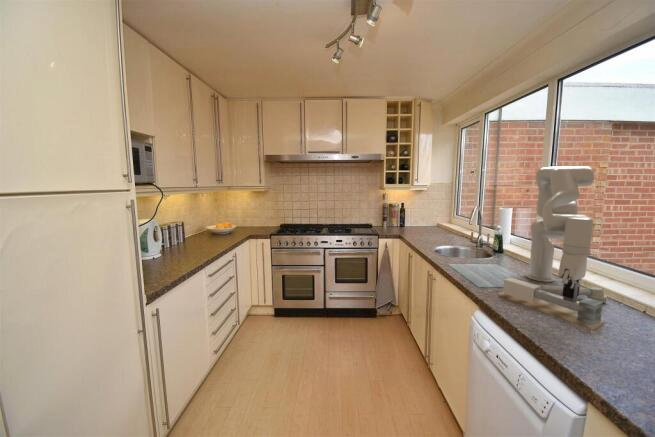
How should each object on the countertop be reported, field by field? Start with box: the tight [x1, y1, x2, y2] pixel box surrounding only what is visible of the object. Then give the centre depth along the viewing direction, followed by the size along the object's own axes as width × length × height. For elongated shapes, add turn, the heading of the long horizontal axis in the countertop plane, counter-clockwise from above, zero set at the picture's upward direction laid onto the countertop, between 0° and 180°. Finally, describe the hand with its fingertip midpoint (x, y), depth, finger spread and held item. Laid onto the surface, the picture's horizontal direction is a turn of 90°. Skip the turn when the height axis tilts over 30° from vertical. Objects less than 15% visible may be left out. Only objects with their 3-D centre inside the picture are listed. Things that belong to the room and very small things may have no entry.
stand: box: [497, 291, 605, 331], centre depth 110 cm, size 33×9×8 cm, turn 26°
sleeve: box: [502, 277, 541, 303], centre depth 118 cm, size 12×5×7 cm, turn 27°
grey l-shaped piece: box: [534, 281, 580, 312], centre depth 106 cm, size 21×3×10 cm, turn 26°
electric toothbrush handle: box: [537, 283, 608, 304], centre depth 120 cm, size 5×7×25 cm
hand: (570, 295), depth 103 cm, fingers closed on grey l-shaped piece, 3 cm apart
